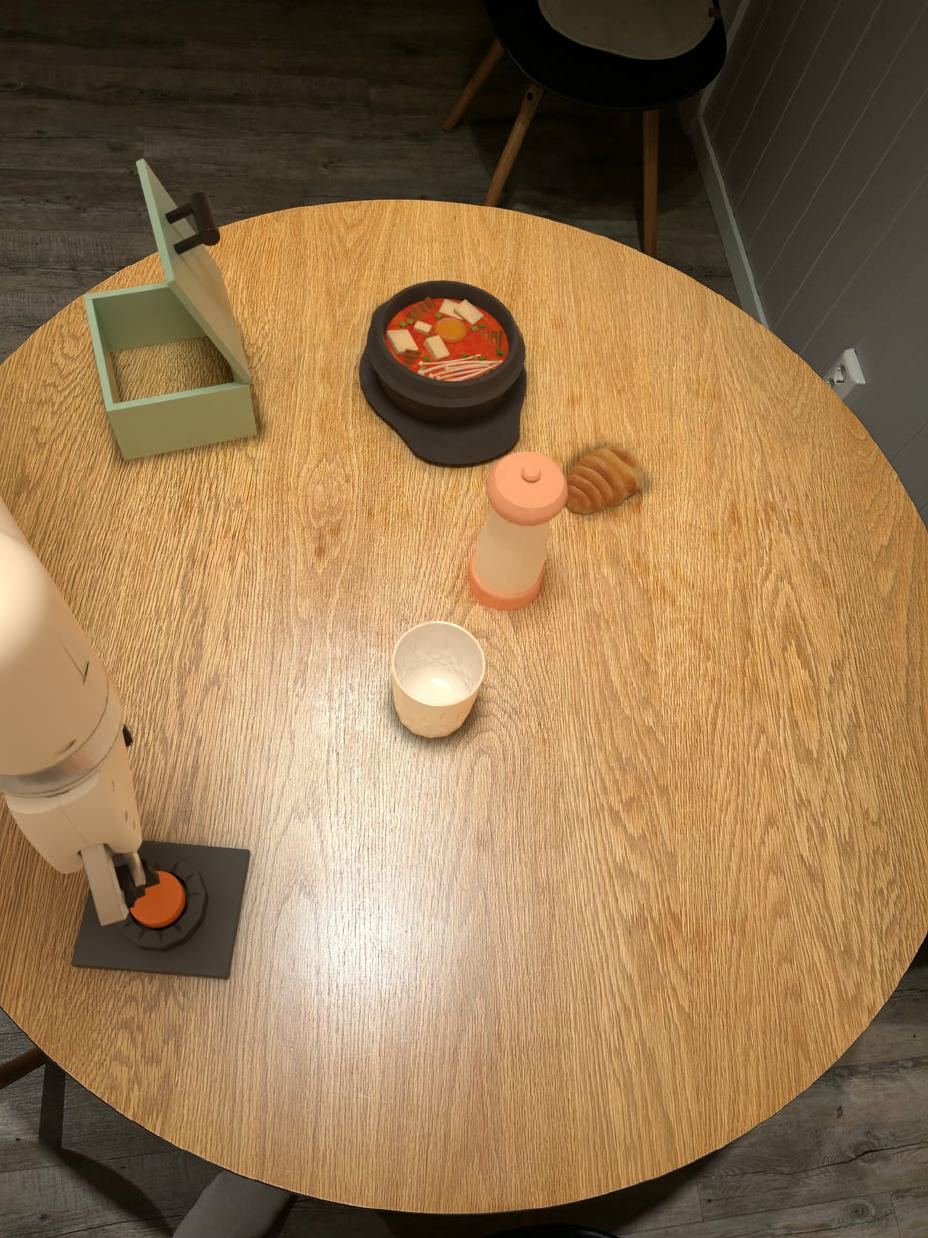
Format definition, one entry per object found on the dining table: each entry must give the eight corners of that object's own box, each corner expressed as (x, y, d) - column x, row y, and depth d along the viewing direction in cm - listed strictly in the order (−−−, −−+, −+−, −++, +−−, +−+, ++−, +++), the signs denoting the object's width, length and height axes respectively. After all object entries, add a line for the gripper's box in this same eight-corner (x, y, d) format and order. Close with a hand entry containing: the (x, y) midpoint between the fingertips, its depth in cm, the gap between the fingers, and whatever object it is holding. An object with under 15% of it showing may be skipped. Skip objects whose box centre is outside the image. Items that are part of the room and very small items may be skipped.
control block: (78, 968, 74) (63, 961, 71) (109, 843, 79) (96, 830, 75) (230, 981, 75) (224, 974, 71) (252, 855, 79) (247, 844, 76)
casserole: (554, 459, 102) (569, 408, 94) (387, 488, 98) (389, 437, 91) (490, 294, 113) (499, 237, 105) (337, 315, 109) (335, 256, 101)
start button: (127, 925, 72) (122, 921, 71) (139, 873, 74) (134, 868, 73) (180, 930, 73) (175, 926, 71) (190, 878, 75) (186, 873, 73)
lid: (166, 283, 78) (219, 257, 78) (135, 161, 85) (184, 137, 84) (245, 383, 91) (291, 362, 91) (213, 271, 98) (256, 251, 97)
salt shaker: (453, 568, 94) (472, 450, 77) (516, 543, 96) (548, 423, 79) (487, 627, 92) (514, 517, 75) (551, 600, 94) (591, 487, 77)
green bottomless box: (127, 467, 96) (106, 411, 89) (104, 355, 103) (82, 294, 95) (258, 442, 99) (249, 385, 92) (228, 334, 106) (217, 273, 98)
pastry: (585, 535, 98) (593, 514, 94) (541, 493, 100) (547, 471, 96) (646, 489, 101) (655, 468, 98) (602, 450, 103) (610, 427, 100)
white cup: (483, 682, 89) (495, 635, 80) (460, 758, 85) (471, 717, 76) (403, 659, 89) (407, 609, 80) (377, 733, 85) (379, 690, 77)
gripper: (-60, 585, 49) (42, 712, 64) (-25, 912, 41) (82, 967, 56) (89, 551, 50) (155, 682, 65) (148, 859, 43) (207, 927, 58)
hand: (121, 814), depth 61 cm, fingers open, 9 cm apart
